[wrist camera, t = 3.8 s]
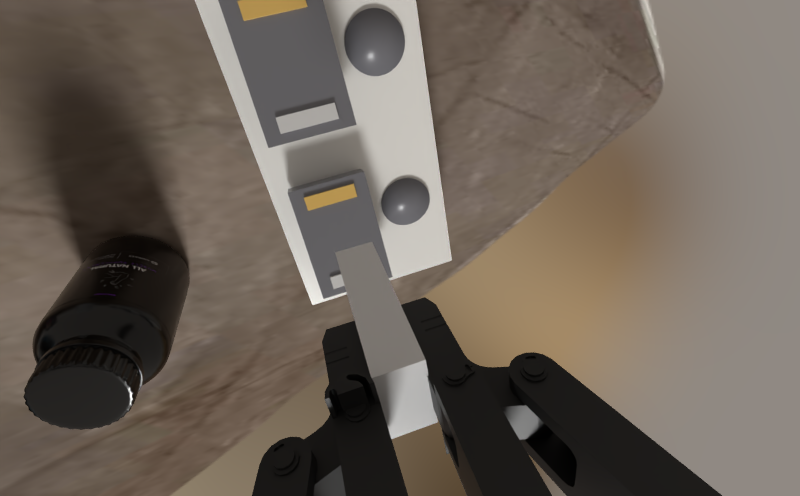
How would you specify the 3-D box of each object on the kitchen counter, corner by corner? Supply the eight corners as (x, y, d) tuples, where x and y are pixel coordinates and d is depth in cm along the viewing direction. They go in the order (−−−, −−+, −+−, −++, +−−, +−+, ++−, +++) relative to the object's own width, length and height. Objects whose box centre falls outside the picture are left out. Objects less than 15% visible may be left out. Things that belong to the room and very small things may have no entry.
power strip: (306, 269, 35) (313, 312, 30) (81, -333, 18) (13, -459, 13) (430, 230, 37) (456, 266, 32) (333, -359, 19) (357, -479, 14)
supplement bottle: (148, 215, 30) (90, 324, 20) (209, 282, 33) (187, 402, 24) (60, 261, 30) (-42, 394, 20) (132, 323, 33) (77, 461, 23)
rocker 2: (322, 289, 28) (323, 300, 27) (288, 188, 26) (287, 193, 24) (387, 268, 29) (393, 277, 27) (360, 168, 26) (364, 171, 25)
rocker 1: (270, 147, 23) (268, 148, 21) (222, 3, 21) (215, -8, 19) (353, 125, 23) (357, 124, 22) (314, -17, 21) (315, -29, 20)
